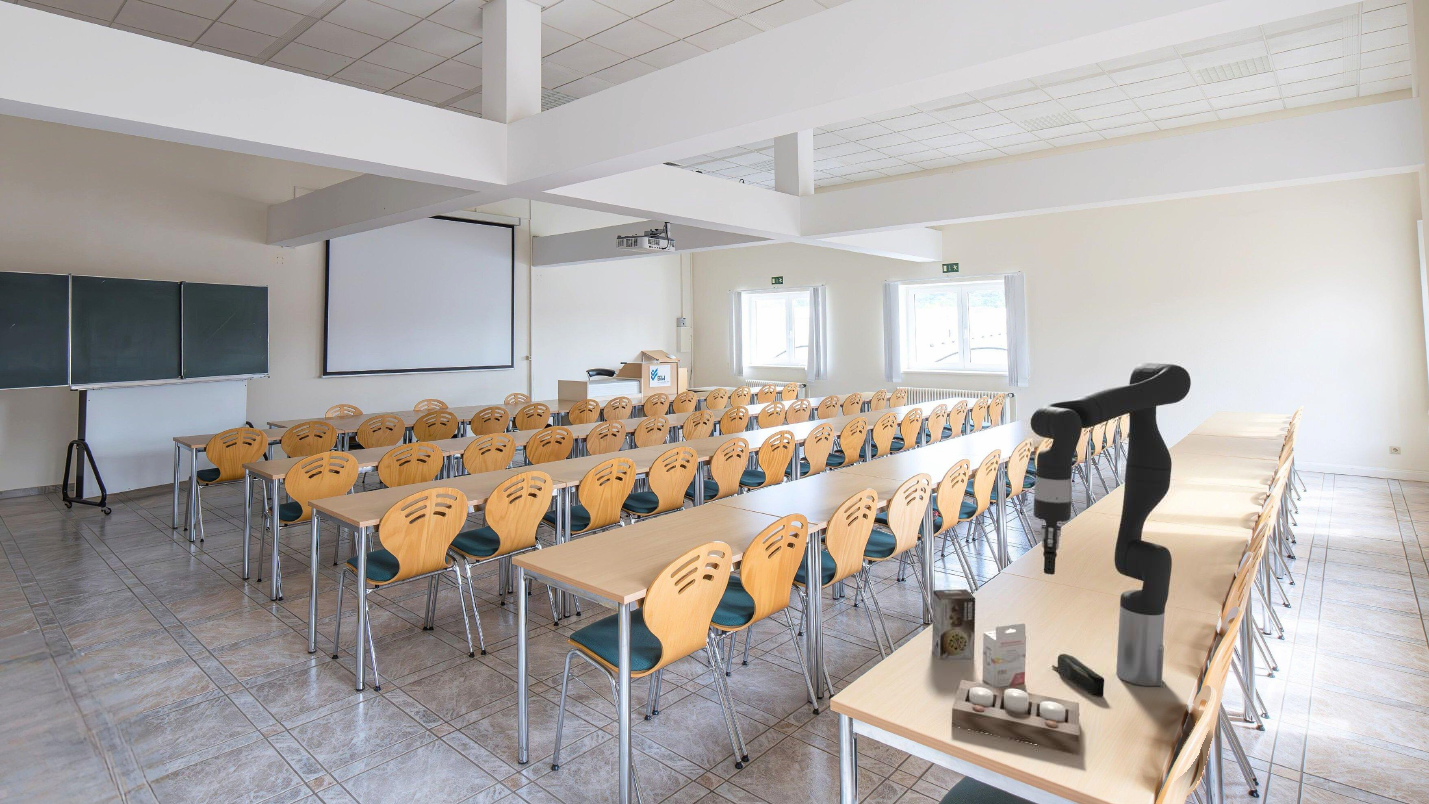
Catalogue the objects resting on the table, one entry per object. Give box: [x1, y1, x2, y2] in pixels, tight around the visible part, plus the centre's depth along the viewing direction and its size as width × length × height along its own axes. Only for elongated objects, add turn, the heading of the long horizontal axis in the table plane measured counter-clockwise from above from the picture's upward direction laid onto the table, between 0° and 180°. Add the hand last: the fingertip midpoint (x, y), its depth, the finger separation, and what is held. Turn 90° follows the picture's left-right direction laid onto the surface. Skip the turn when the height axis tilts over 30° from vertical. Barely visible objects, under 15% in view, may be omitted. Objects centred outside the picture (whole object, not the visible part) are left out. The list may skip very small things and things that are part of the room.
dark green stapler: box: [1051, 653, 1105, 697], centre depth 174 cm, size 5×3×15 cm
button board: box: [951, 679, 1080, 756], centre depth 156 cm, size 24×14×4 cm, turn 64°
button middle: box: [1004, 688, 1029, 715], centre depth 156 cm, size 5×5×4 cm
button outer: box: [969, 687, 993, 707], centre depth 159 cm, size 5×5×4 cm
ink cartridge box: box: [982, 622, 1027, 688], centre depth 174 cm, size 9×5×15 cm, turn 105°
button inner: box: [1040, 701, 1065, 722], centre depth 153 cm, size 5×5×4 cm
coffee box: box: [931, 588, 976, 660], centre depth 189 cm, size 9×6×16 cm
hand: (1049, 573), depth 164 cm, fingers closed
